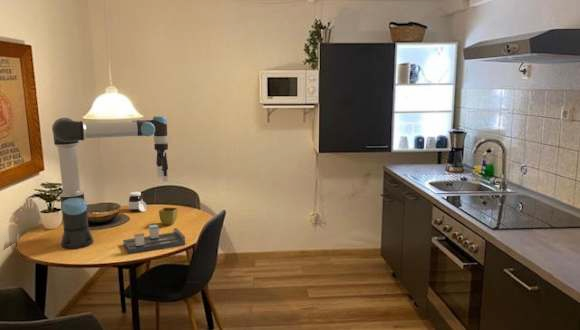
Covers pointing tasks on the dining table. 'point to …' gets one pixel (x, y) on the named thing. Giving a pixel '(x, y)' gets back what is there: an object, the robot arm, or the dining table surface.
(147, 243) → the grey tray
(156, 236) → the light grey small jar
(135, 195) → the spread jar
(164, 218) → the flower pot
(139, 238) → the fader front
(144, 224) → the dining table surface
